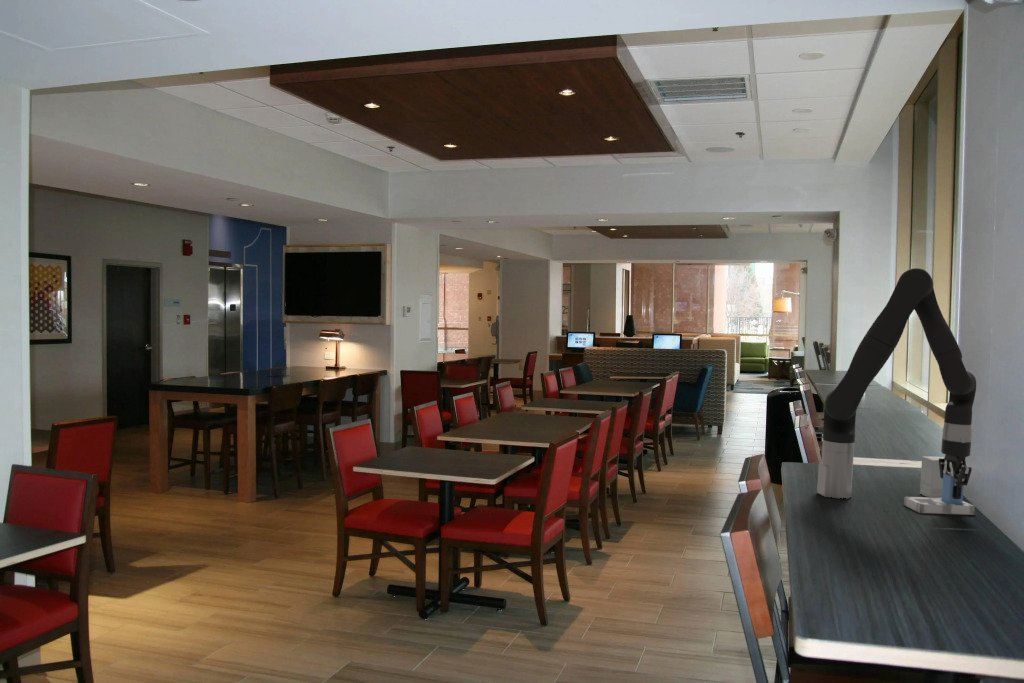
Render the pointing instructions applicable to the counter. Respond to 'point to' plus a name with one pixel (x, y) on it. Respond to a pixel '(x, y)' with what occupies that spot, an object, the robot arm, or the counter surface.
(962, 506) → the jack panel
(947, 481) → the plug
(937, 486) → the supplement box
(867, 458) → the counter surface
